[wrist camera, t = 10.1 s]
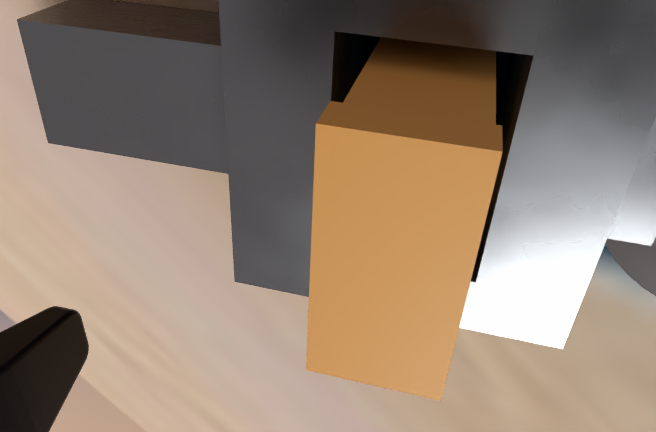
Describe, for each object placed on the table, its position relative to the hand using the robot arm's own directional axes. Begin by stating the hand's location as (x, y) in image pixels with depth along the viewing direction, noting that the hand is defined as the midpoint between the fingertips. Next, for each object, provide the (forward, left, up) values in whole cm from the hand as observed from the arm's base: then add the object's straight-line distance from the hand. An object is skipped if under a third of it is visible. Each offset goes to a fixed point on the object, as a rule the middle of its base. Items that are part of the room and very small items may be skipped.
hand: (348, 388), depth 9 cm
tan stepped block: (0, 0, -12) cm, 12 cm away
